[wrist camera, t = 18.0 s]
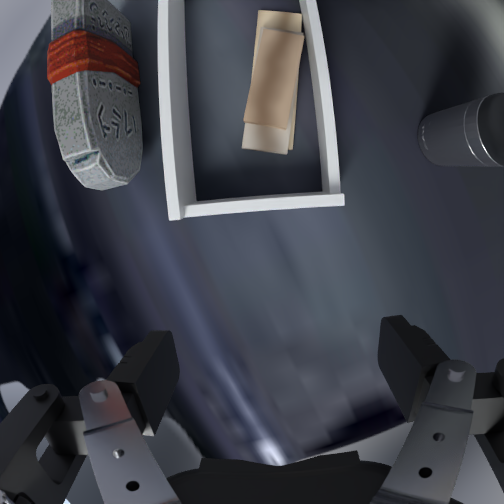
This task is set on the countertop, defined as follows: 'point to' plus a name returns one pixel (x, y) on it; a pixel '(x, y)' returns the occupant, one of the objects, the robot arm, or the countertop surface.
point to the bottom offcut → (284, 23)
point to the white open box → (179, 135)
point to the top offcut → (274, 79)
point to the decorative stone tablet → (95, 92)
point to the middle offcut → (268, 136)
